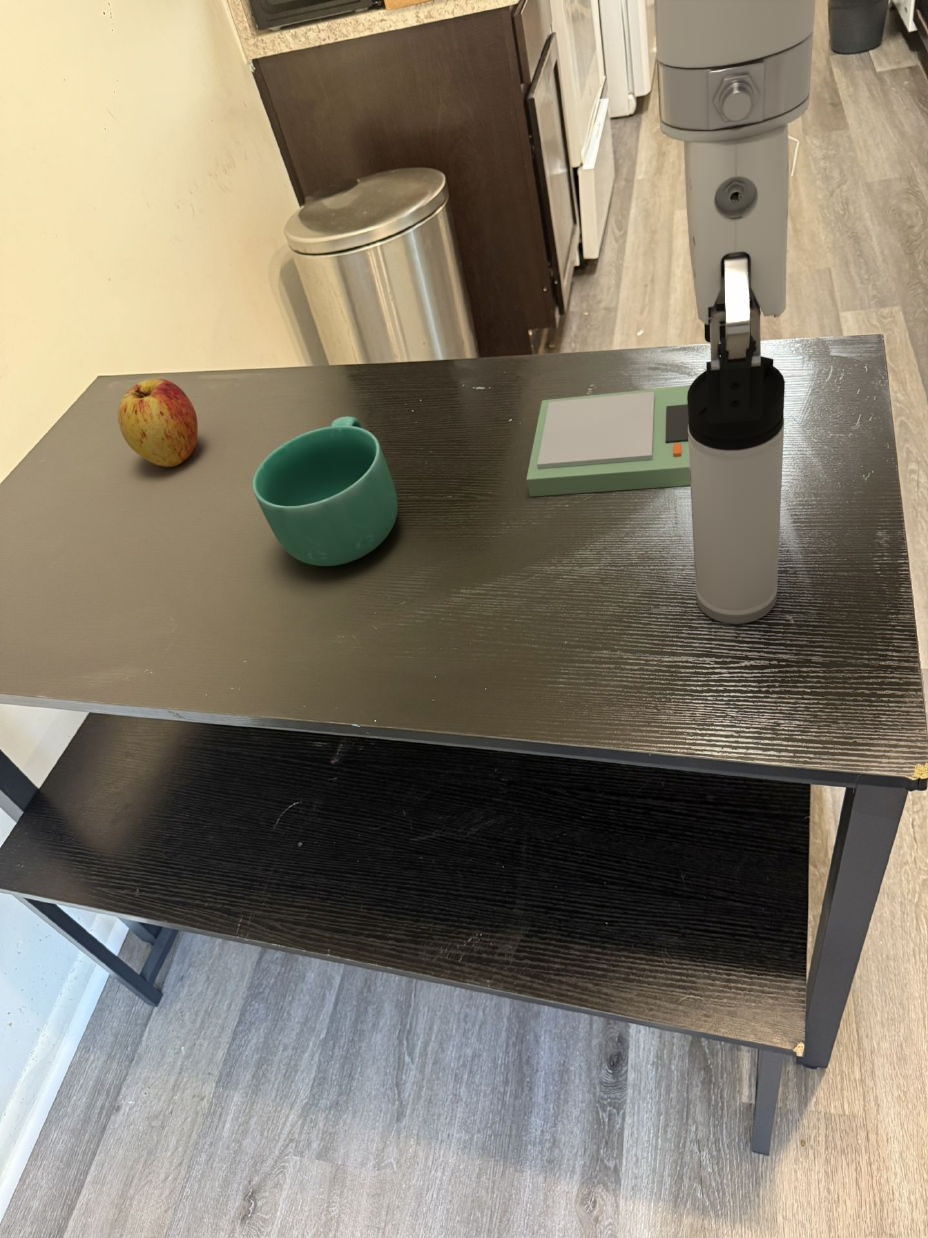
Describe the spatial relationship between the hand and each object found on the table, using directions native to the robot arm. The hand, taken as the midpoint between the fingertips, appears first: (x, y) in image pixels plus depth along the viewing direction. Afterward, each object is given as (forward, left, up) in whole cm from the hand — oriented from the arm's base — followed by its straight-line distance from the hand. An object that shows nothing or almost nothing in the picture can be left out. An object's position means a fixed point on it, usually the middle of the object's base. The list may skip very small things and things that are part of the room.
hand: (731, 376), depth 57 cm
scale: (+11, -22, -20) cm, 32 cm away
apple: (+65, -28, -20) cm, 73 cm away
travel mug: (0, 0, -20) cm, 20 cm away
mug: (+37, -12, -20) cm, 44 cm away
